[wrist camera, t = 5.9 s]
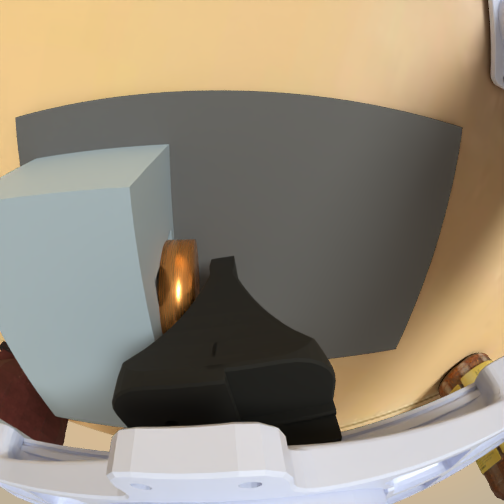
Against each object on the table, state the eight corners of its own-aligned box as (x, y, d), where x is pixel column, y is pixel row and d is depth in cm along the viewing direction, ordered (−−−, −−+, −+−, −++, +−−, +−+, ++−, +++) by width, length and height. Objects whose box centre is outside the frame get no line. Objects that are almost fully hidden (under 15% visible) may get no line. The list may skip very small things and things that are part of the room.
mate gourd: (90, 364, 17) (48, 585, 4) (69, 408, 19) (39, 567, 6) (-5, 307, 14) (-94, 504, 1) (-7, 365, 17) (-59, 515, 4)
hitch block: (171, 142, 11) (129, 186, 6) (186, 337, 16) (180, 431, 11) (40, 156, 10) (-47, 207, 5) (85, 333, 15) (55, 416, 10)
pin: (196, 221, 12) (187, 279, 8) (201, 302, 14) (197, 371, 10) (-14, 230, 11) (-60, 274, 7) (9, 296, 13) (-24, 345, 9)
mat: (457, 126, 11) (462, 127, 11) (393, 344, 18) (395, 349, 18) (20, 116, 9) (15, 117, 9) (81, 354, 16) (79, 359, 16)
